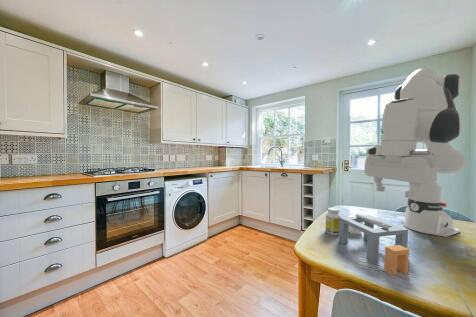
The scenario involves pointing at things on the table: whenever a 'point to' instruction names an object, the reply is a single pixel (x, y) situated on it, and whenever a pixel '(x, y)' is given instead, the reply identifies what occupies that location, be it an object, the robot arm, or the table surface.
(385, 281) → the table surface
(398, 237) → the square frame with slider
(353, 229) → the shot glass
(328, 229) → the pill bottle
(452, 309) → the table surface
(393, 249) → the tall tan box
